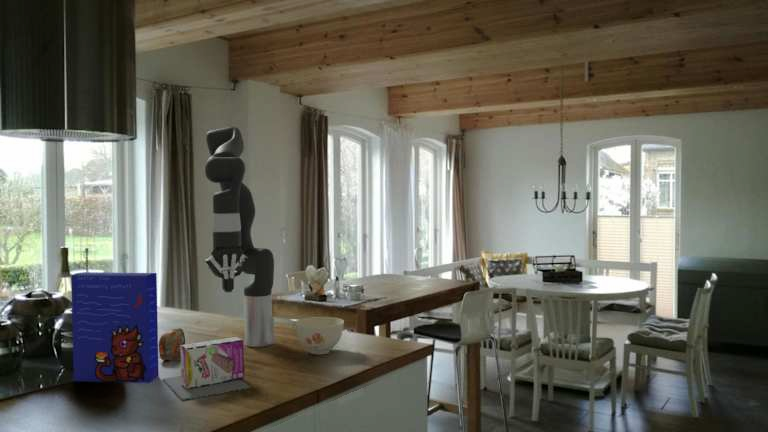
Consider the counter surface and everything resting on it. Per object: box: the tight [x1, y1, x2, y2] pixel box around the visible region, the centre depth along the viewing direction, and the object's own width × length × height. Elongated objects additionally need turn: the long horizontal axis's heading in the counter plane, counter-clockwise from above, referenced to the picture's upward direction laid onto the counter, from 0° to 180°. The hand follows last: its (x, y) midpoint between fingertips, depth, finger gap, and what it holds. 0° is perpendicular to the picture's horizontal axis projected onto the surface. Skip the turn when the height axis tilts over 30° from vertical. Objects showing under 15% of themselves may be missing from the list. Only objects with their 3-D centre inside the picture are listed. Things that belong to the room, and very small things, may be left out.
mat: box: [162, 375, 251, 401], centre depth 169 cm, size 18×20×1 cm
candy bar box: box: [179, 336, 245, 389], centre depth 169 cm, size 11×5×16 cm
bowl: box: [294, 316, 345, 355], centre depth 202 cm, size 16×16×10 cm
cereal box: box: [70, 271, 160, 384], centre depth 174 cm, size 22×6×30 cm, turn 84°
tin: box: [158, 328, 186, 361], centre depth 197 cm, size 15×3×8 cm, turn 176°
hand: (228, 291), depth 171 cm, fingers closed
